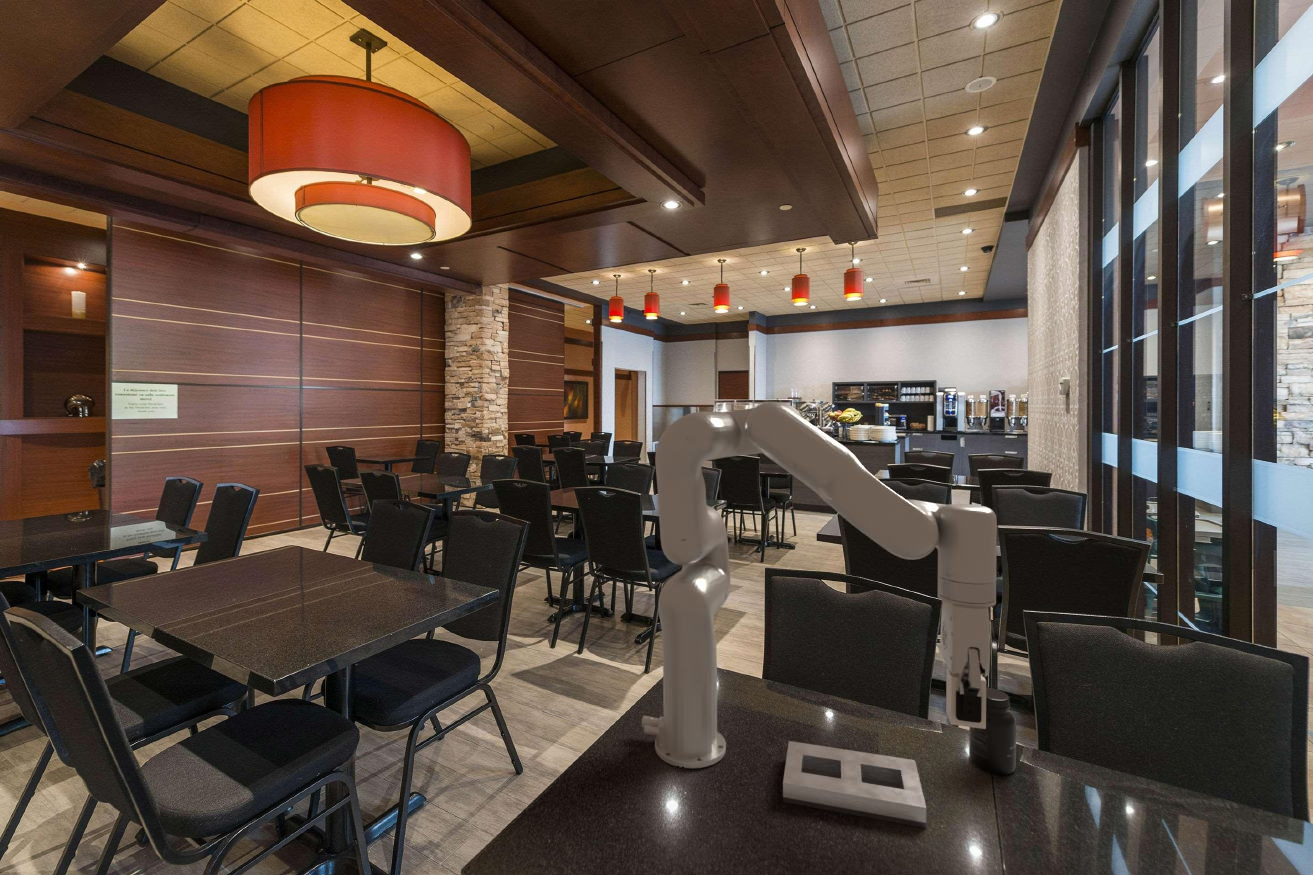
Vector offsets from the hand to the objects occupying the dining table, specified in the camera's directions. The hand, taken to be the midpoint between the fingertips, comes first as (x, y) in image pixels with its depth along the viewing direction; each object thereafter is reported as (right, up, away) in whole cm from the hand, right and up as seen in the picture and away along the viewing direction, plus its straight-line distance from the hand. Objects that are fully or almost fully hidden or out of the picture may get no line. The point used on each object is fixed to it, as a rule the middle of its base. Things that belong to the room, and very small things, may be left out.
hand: (965, 712), depth 85 cm
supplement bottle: (+11, -15, +13) cm, 23 cm away
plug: (0, -1, 0) cm, 1 cm away
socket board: (-15, -15, +6) cm, 22 cm away
